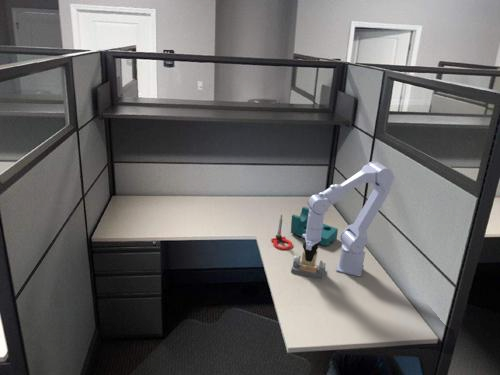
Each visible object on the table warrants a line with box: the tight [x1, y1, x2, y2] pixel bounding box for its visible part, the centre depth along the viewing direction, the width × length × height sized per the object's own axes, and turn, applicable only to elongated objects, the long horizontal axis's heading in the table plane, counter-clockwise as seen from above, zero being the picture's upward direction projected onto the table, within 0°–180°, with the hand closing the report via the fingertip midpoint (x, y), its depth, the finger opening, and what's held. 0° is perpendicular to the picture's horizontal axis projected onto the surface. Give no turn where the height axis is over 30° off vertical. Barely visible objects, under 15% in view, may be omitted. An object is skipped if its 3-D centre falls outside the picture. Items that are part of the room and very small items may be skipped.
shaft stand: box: [290, 254, 327, 281], centre depth 157 cm, size 12×7×6 cm, turn 70°
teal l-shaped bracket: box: [290, 206, 339, 247], centre depth 184 cm, size 18×11×10 cm, turn 54°
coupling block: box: [301, 250, 319, 267], centre depth 156 cm, size 5×4×5 cm
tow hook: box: [270, 214, 294, 251], centre depth 174 cm, size 8×13×9 cm
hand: (310, 258), depth 156 cm, fingers closed on coupling block, 4 cm apart
